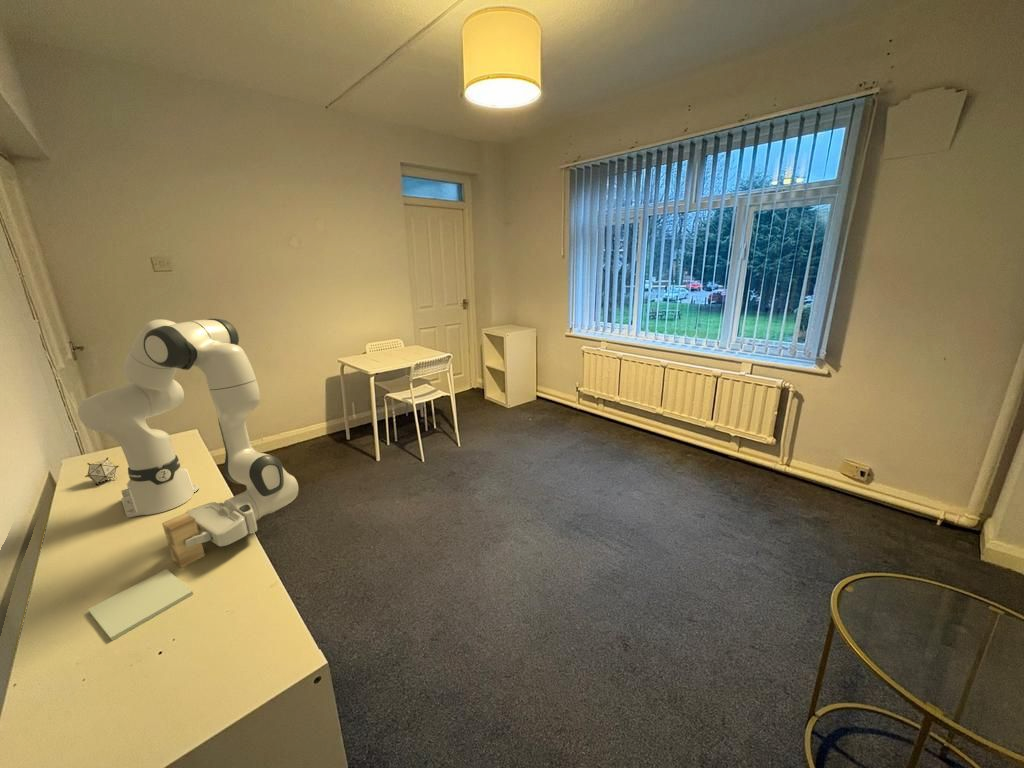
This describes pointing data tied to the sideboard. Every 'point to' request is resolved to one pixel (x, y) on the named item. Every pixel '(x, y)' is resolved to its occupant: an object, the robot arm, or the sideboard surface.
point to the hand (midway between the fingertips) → (179, 539)
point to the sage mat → (139, 603)
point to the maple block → (182, 539)
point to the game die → (101, 471)
